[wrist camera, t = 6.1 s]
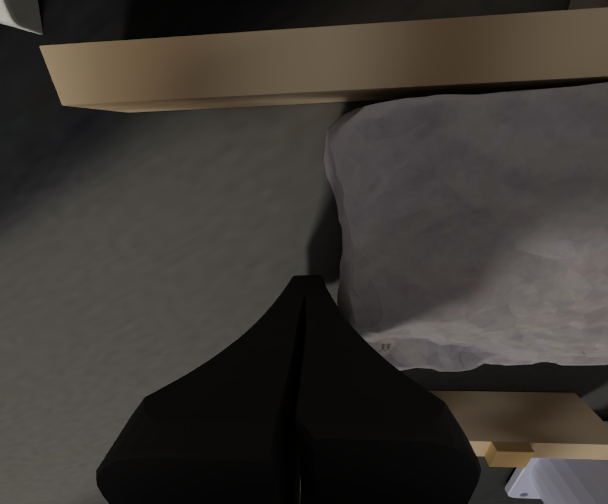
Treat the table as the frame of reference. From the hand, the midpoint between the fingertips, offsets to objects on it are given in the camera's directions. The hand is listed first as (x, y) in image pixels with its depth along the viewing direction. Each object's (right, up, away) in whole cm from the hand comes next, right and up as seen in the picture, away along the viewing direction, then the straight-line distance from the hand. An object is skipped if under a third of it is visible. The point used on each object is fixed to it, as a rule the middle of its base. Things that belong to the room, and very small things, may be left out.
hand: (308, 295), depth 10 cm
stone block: (+7, +3, 0) cm, 7 cm away
